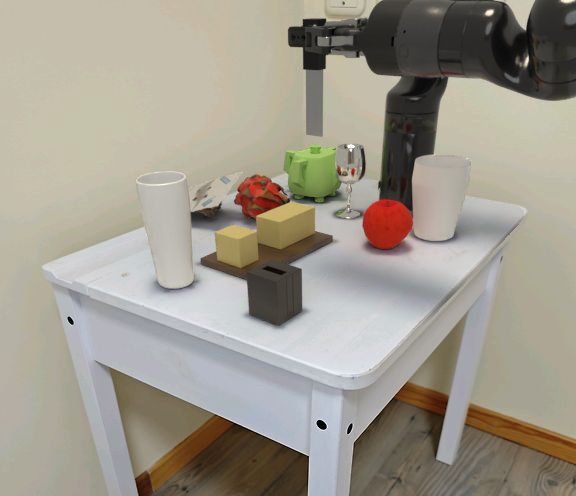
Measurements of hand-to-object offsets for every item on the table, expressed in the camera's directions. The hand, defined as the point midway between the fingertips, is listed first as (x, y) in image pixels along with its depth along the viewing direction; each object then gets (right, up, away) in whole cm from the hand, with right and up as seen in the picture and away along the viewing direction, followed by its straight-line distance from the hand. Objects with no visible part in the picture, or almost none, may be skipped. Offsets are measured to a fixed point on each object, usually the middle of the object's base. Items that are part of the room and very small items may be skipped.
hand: (295, 36), depth 72 cm
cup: (+24, -19, +24) cm, 39 cm away
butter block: (-1, -20, +21) cm, 30 cm away
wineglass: (+10, -13, +33) cm, 37 cm away
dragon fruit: (-5, -15, +32) cm, 35 cm away
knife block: (-3, -35, +2) cm, 35 cm away
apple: (+15, -22, +20) cm, 33 cm away
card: (-14, -13, +35) cm, 39 cm away
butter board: (-4, -23, +19) cm, 30 cm away
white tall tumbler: (-17, -30, +10) cm, 36 cm away
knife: (+3, -11, +5) cm, 12 cm away
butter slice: (-9, -26, +14) cm, 31 cm away
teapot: (+5, -6, +43) cm, 44 cm away
